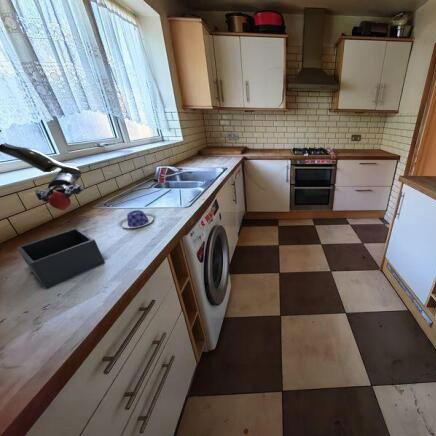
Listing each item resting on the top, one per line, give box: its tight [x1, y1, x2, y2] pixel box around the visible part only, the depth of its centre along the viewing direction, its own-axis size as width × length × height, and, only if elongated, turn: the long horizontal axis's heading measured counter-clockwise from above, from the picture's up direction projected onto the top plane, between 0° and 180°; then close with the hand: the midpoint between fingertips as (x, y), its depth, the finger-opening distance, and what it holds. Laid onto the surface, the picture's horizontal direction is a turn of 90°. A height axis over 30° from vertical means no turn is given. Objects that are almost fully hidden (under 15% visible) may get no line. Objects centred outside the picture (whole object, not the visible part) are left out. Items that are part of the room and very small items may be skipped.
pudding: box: [121, 209, 154, 229], centre depth 100 cm, size 12×12×5 cm
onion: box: [48, 190, 72, 211], centre depth 86 cm, size 6×6×8 cm
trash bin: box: [16, 227, 106, 290], centre depth 72 cm, size 15×15×9 cm
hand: (56, 197), depth 83 cm, fingers closed on onion, 5 cm apart
